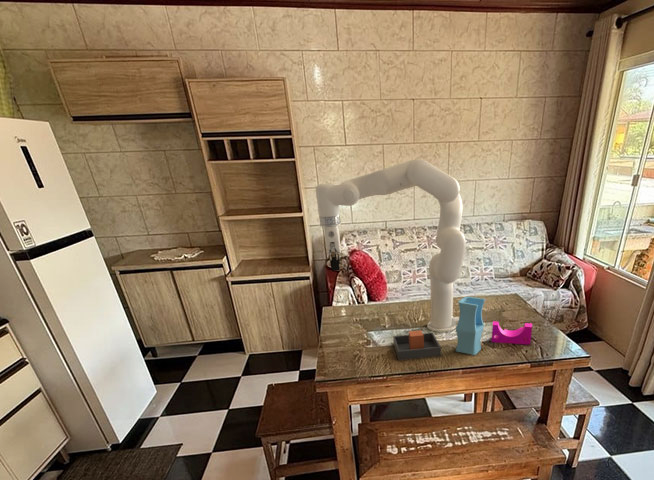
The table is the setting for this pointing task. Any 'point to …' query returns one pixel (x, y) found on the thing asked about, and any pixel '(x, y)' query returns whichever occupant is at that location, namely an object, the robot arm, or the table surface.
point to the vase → (470, 325)
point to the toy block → (512, 334)
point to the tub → (404, 351)
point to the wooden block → (416, 340)
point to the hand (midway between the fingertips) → (335, 267)
